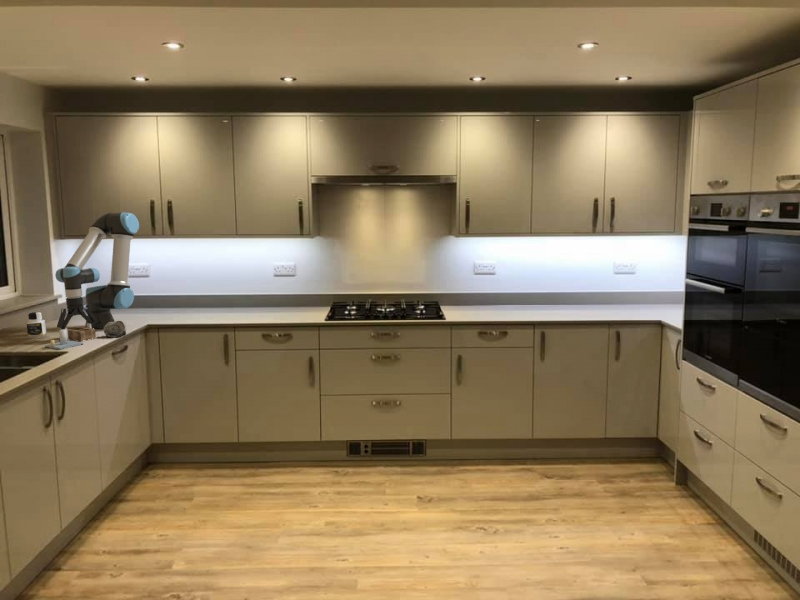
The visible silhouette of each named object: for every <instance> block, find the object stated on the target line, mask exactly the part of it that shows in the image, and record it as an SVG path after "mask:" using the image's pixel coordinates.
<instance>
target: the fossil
mask: <svg viewBox="0 0 800 600" xmlns="http://www.w3.org/2000/svg"><path fill="white" fill-rule="evenodd" d="M114 321H115V322H109V323H107V324H106V325H105V326H104V328H102V329H103V333H104V335H105V336H106V337H107V338H111V339H117V338H120V337H122V336H125V335H126V334H127V330H126V324H125V323H124V321H122V320H114Z"/></svg>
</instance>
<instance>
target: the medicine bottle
mask: <svg viewBox="0 0 800 600" xmlns="http://www.w3.org/2000/svg"><path fill="white" fill-rule="evenodd" d="M26 332H27V337H36V336H37V337H38V335H40V336H43V335H45V334H46V333H47V327H46V320H45V319H43V316H42V312H39V311H35V312H29V313H28V322H27V323H26Z"/></svg>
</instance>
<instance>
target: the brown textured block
mask: <svg viewBox="0 0 800 600" xmlns="http://www.w3.org/2000/svg"><path fill="white" fill-rule="evenodd" d="M66 328H67V331H68V339H70V340H69V341H74V340H78V341H77V342H81V341H82V342H84V341H83V340H86V341H89V340H88V339H91V340H93V339H92V338H95V339H96V336H97V334H96V329H92V328H86V327H83V326H76V325H75V326H70V327H66ZM59 330H61V328H59Z"/></svg>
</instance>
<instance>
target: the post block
mask: <svg viewBox="0 0 800 600" xmlns="http://www.w3.org/2000/svg"><path fill="white" fill-rule="evenodd" d="M58 333H59V341H58V342H55V339H51V340H50V343H49V344H45V345H44V348H45V347H49V348H48V349H52V348H54V349H53V350H58V349H61V350H64V349H63V348H66V349H69V348H68V347H70V348H73V347H72V346H75V347H78V346H77V345H79V346H82V345H81V344H83V345H84V341H82V342H81V341H74V340H68V341H67V334H66V329H62V330H60V329H58Z"/></svg>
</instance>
